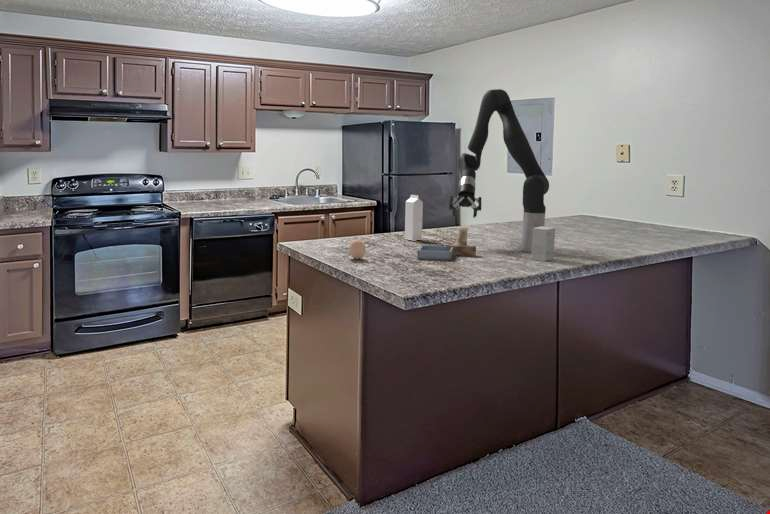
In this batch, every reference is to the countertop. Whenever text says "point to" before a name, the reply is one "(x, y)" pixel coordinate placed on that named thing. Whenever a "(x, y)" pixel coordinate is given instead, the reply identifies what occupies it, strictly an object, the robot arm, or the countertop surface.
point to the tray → (434, 252)
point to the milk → (413, 218)
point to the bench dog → (462, 250)
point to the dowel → (462, 236)
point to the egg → (357, 249)
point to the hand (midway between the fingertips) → (464, 216)
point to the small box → (543, 243)
